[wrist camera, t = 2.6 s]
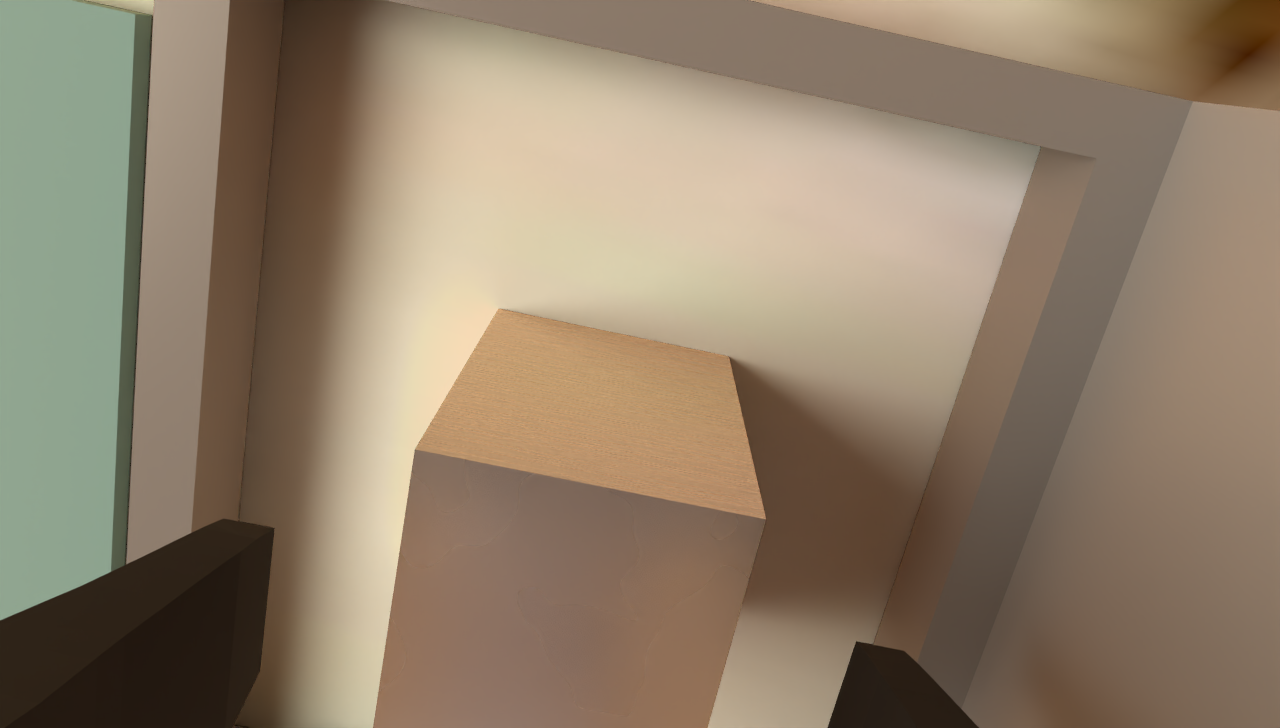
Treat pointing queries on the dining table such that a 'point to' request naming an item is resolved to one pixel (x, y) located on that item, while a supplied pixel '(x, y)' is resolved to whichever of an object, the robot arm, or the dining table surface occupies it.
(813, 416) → the dining table surface
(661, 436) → the block
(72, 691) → the robot arm
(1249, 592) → the equipment case
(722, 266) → the dining table surface
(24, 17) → the module mat
